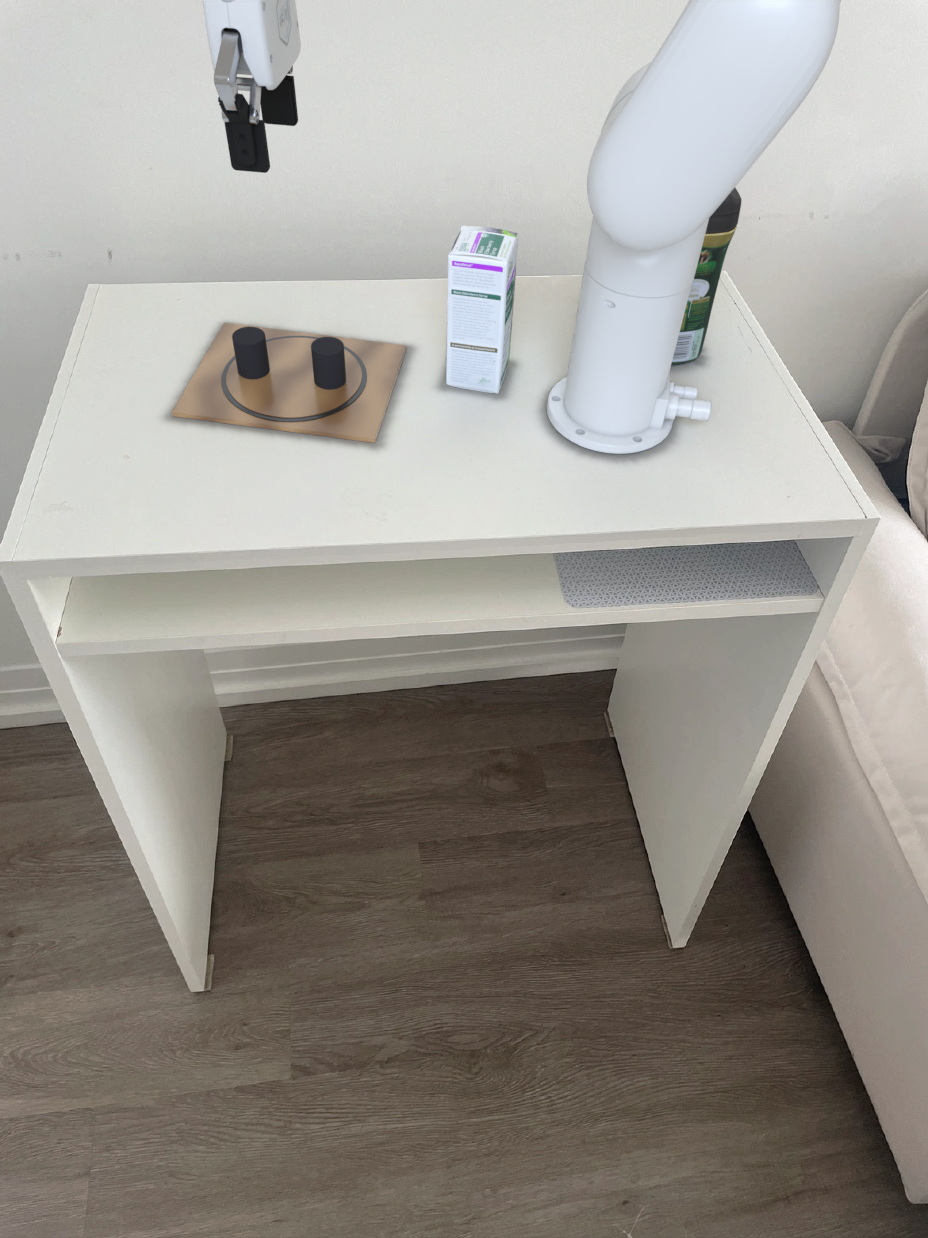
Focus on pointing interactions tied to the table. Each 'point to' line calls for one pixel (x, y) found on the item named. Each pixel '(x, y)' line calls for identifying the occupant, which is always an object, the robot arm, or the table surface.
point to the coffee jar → (707, 279)
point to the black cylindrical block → (328, 363)
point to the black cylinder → (251, 352)
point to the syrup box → (480, 307)
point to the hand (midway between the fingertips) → (266, 145)
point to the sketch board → (294, 387)
